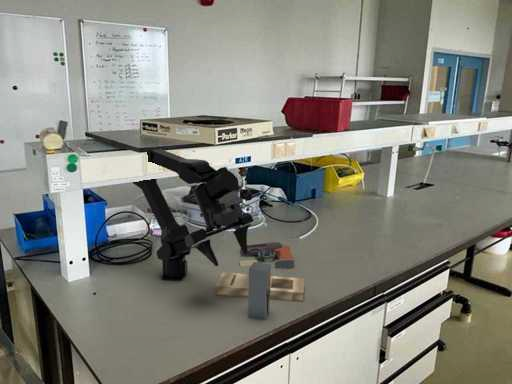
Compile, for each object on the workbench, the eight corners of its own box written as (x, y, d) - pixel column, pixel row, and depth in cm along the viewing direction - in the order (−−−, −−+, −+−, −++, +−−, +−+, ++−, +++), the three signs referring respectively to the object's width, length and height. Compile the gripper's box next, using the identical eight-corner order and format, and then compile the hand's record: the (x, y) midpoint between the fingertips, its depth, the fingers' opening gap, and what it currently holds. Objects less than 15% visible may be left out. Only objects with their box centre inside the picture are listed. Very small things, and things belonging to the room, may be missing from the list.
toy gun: (294, 270, 137) (291, 248, 151) (293, 255, 135) (290, 234, 149) (239, 275, 137) (241, 252, 151) (237, 260, 136) (239, 239, 150)
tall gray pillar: (248, 316, 107) (248, 268, 104) (253, 308, 111) (254, 262, 108) (264, 319, 106) (266, 271, 103) (269, 311, 110) (270, 264, 107)
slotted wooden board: (216, 294, 118) (216, 285, 118) (222, 280, 127) (222, 271, 126) (303, 301, 115) (303, 292, 115) (303, 286, 124) (304, 277, 123)
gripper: (189, 206, 102) (214, 267, 100) (252, 186, 112) (275, 241, 110) (174, 218, 111) (196, 274, 109) (233, 199, 121) (254, 250, 119)
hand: (231, 259), depth 112 cm, fingers open, 9 cm apart
